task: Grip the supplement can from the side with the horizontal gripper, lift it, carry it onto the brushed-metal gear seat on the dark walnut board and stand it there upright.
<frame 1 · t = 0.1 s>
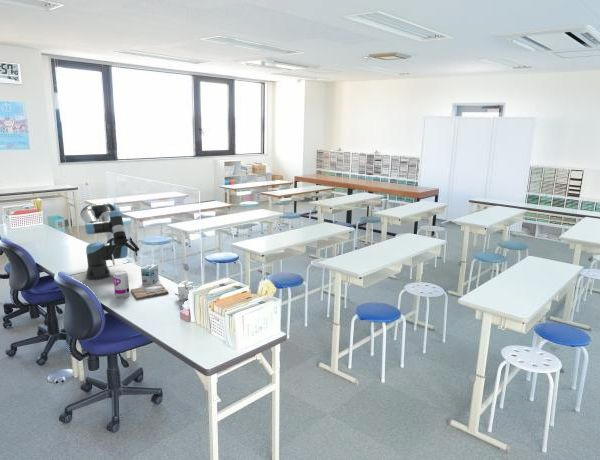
hand: (125, 262, 289), 15 cm above the table, tool tilted 35°, fingers open, 13 cm apart
mechanical part: (184, 299, 270), on the table
supplement can: (122, 296, 274), on the table
gear board: (149, 292, 280), on the table
light bulb box: (150, 282, 299), on the table
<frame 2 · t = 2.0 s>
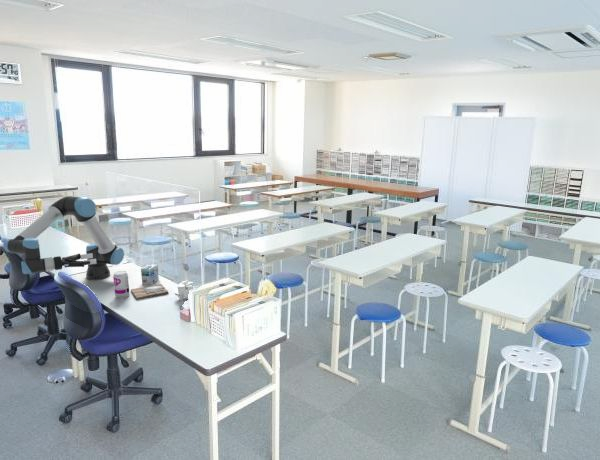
hand: (94, 258, 264), 25 cm above the table, tool horizontal, fingers open, 13 cm apart
nothing on the table moved.
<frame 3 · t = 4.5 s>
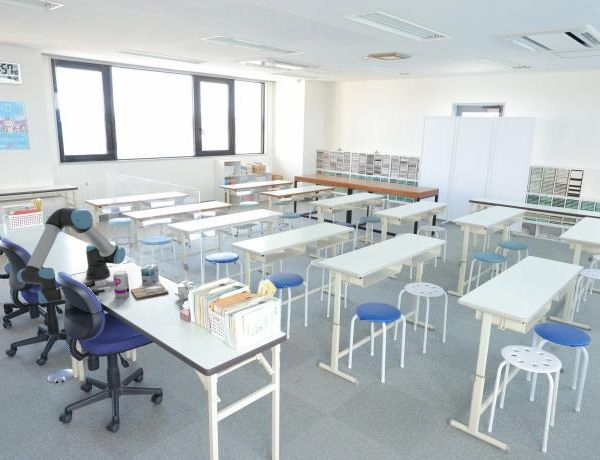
hand: (108, 285, 268), 8 cm above the table, tool horizontal, fingers open, 13 cm apart
nothing on the table moved.
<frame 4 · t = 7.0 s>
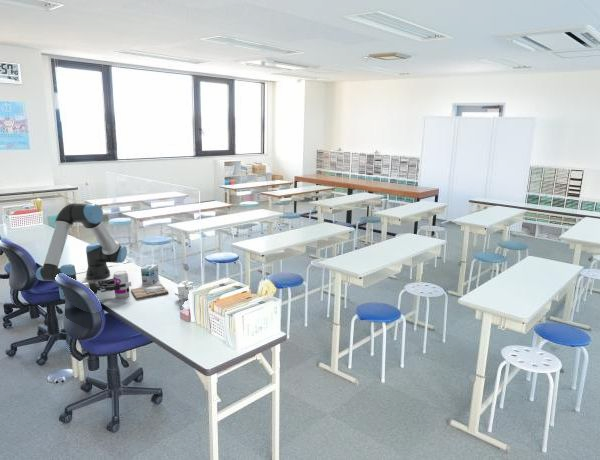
hand: (129, 281, 275), 9 cm above the table, tool horizontal, fingers closed on supplement can, 8 cm apart
supplement can: (122, 296, 274), on the table, touching gripper
everything else where it was.
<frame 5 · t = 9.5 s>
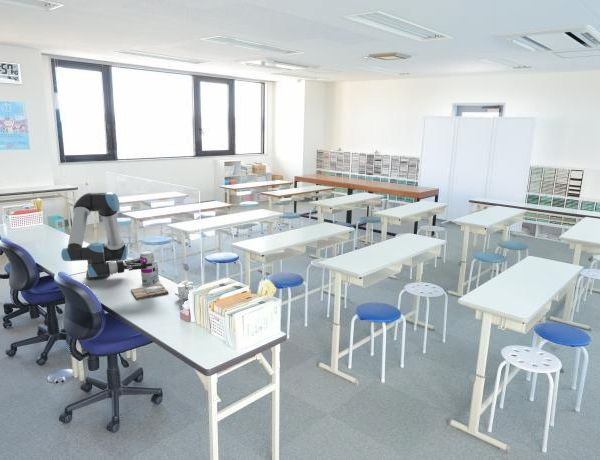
hand: (155, 261, 277), 20 cm above the table, tool horizontal, fingers closed on supplement can, 8 cm apart
supplement can: (148, 276, 277), point 11 cm above the table, touching gripper
everything else where it was.
when the fingers open (12 cm above the table, at t = 12.1 s): supplement can drops 1 cm, resting on gear board.
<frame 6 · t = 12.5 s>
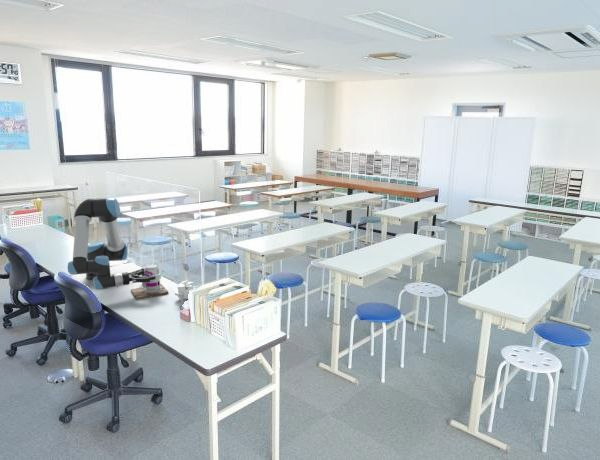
hand: (157, 273, 280), 12 cm above the table, tool horizontal, fingers open, 13 cm apart
supplement can: (153, 289, 281), point 2 cm above the table, touching gear board
everything else where it was.
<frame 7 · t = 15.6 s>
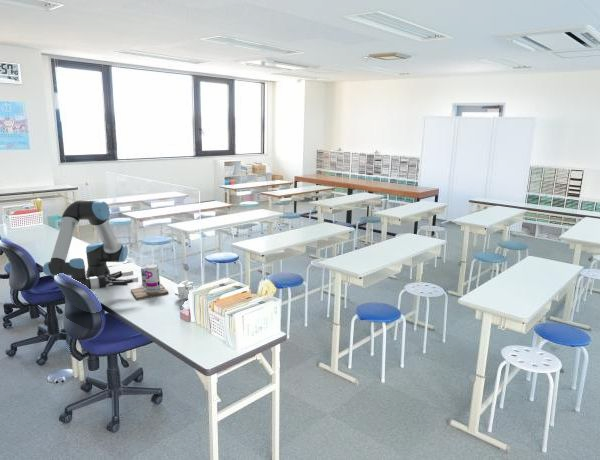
hand: (135, 275, 273), 12 cm above the table, tool horizontal, fingers open, 13 cm apart
nothing on the table moved.
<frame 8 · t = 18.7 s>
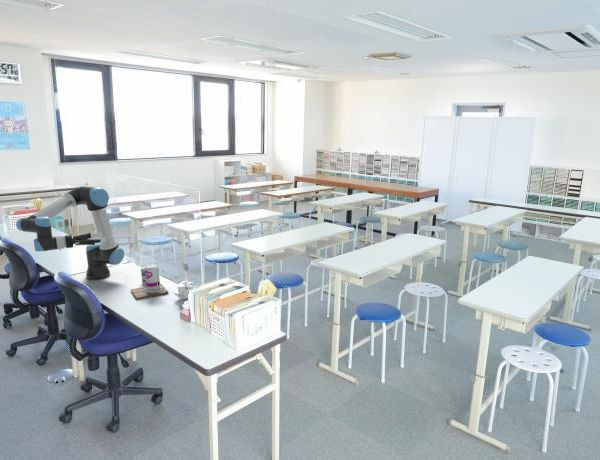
hand: (104, 237, 270), 36 cm above the table, tool horizontal, fingers open, 13 cm apart
nothing on the table moved.
at the end: supplement can 0.0 cm from the target spot on the gear board, point 1.7 cm above the gear board's base; supplement can tilted 0°; the gripper is holding nothing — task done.
